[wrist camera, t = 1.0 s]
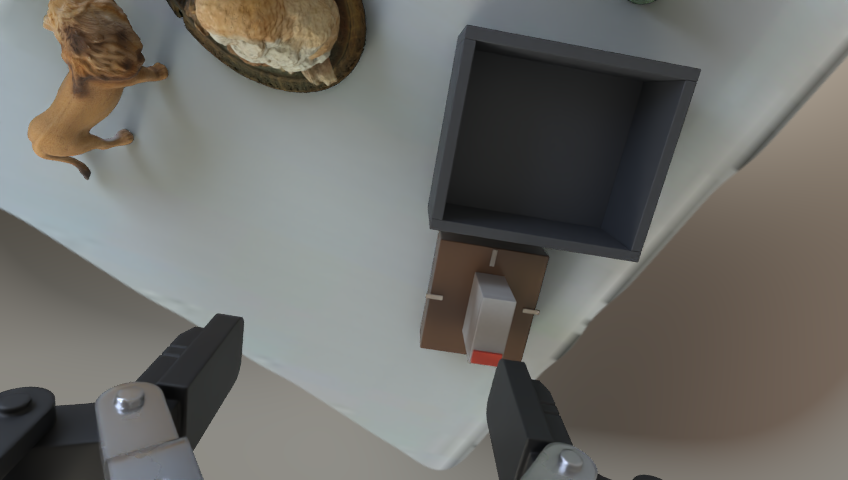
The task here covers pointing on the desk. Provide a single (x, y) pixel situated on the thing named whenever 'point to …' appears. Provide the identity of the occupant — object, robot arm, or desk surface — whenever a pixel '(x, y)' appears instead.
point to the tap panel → (454, 283)
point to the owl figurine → (280, 38)
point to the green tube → (642, 1)
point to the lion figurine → (89, 78)
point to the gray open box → (556, 143)
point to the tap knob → (488, 319)
